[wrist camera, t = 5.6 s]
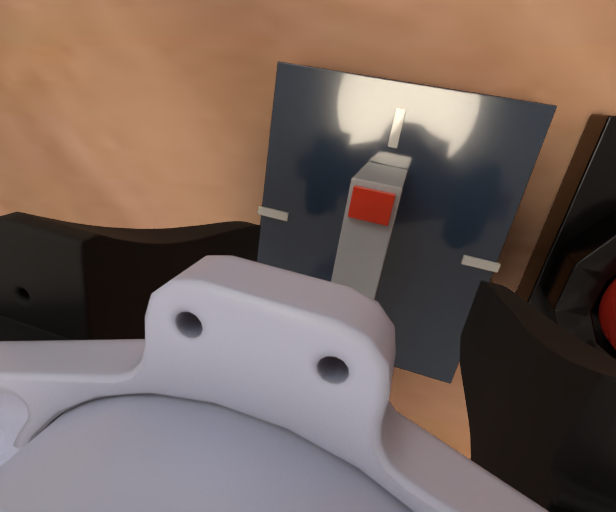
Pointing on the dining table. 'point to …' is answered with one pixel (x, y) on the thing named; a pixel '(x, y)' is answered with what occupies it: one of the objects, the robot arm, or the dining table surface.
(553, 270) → the button box
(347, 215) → the tap lever
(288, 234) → the base
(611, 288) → the red button
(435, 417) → the dining table surface
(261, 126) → the dining table surface
